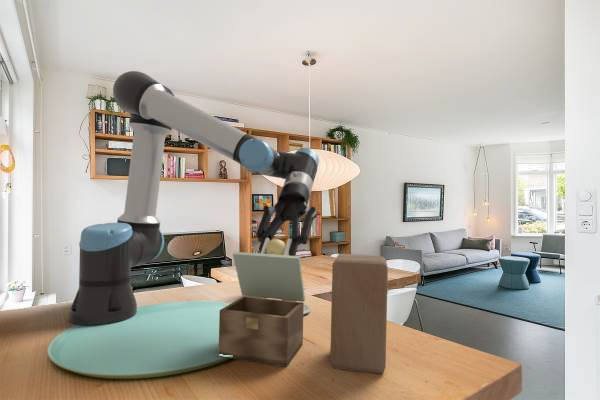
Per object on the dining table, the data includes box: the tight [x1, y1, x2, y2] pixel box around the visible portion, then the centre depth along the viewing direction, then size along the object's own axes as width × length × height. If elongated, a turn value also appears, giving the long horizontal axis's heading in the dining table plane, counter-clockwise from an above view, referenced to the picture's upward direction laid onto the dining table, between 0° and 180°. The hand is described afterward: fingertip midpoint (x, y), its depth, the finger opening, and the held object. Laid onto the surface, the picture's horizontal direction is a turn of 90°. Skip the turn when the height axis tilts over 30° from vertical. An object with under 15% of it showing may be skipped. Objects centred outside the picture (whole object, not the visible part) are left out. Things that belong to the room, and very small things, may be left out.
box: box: [218, 295, 305, 368], centre depth 73 cm, size 14×11×9 cm
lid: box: [232, 238, 306, 303], centre depth 79 cm, size 14×11×9 cm
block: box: [329, 253, 389, 374], centre depth 70 cm, size 10×10×20 cm
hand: (272, 265), depth 78 cm, fingers closed on lid, 5 cm apart
